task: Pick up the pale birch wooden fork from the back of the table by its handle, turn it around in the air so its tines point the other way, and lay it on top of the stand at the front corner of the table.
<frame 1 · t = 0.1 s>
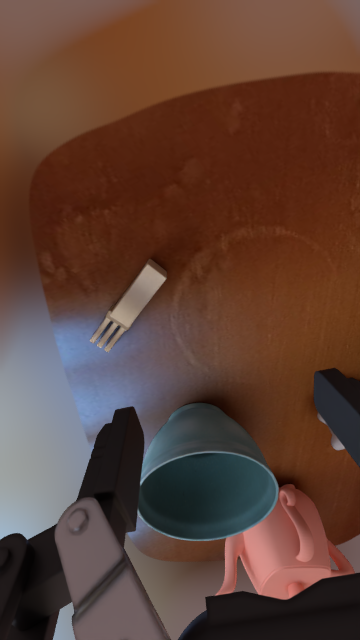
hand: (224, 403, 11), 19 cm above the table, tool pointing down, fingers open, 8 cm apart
teapot: (259, 501, 46), on the table
flower pot: (196, 424, 38), on the table
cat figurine: (354, 398, 37), on the table
fork: (128, 304, 29), on the table
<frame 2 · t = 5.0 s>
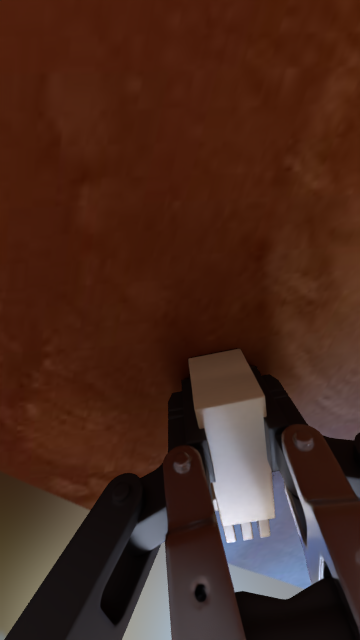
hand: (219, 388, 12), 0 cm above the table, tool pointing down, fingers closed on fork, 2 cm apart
fork: (230, 445, 13), on the table, touching gripper
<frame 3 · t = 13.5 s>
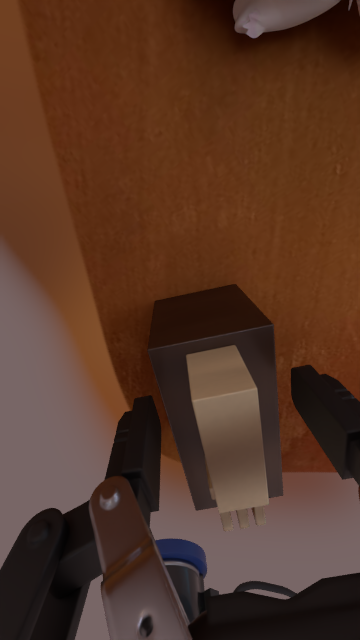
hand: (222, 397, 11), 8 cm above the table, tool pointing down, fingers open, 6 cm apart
stand: (227, 435, 14), on the table
fork: (226, 437, 14), point 7 cm above the table, touching stand
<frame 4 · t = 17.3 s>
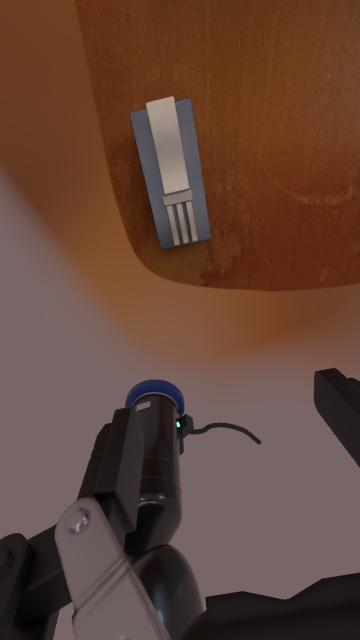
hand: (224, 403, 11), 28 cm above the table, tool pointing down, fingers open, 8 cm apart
stand: (174, 181, 26), on the table
fork: (174, 183, 26), point 7 cm above the table, touching stand
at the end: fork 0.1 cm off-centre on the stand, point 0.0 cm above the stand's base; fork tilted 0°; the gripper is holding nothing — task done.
